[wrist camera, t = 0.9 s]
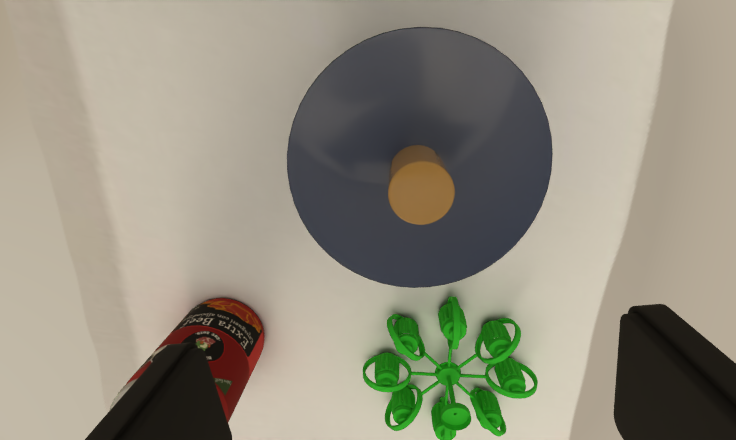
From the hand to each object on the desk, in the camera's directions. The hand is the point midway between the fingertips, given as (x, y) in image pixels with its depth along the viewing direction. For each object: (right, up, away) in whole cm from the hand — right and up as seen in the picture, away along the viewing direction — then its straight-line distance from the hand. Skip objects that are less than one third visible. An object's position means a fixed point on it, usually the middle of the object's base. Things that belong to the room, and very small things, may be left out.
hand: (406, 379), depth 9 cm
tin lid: (+2, +6, +14) cm, 15 cm away
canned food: (-14, -7, +29) cm, 33 cm away
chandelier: (+6, -9, +28) cm, 30 cm away
